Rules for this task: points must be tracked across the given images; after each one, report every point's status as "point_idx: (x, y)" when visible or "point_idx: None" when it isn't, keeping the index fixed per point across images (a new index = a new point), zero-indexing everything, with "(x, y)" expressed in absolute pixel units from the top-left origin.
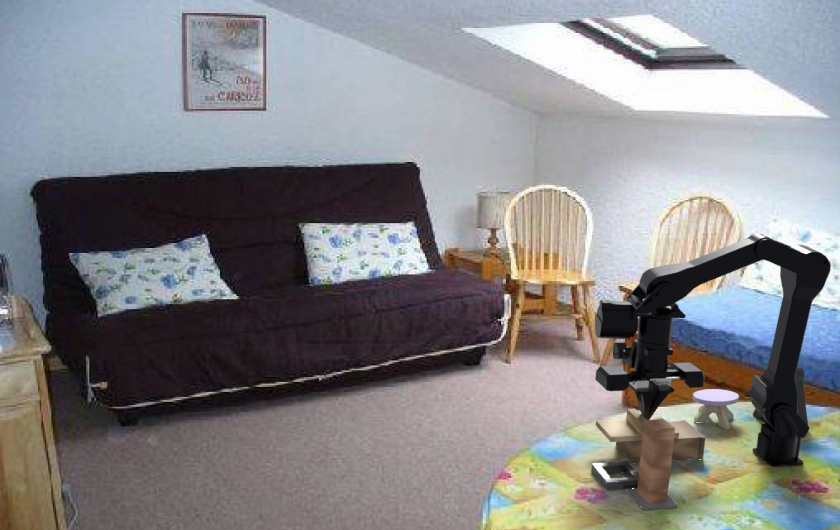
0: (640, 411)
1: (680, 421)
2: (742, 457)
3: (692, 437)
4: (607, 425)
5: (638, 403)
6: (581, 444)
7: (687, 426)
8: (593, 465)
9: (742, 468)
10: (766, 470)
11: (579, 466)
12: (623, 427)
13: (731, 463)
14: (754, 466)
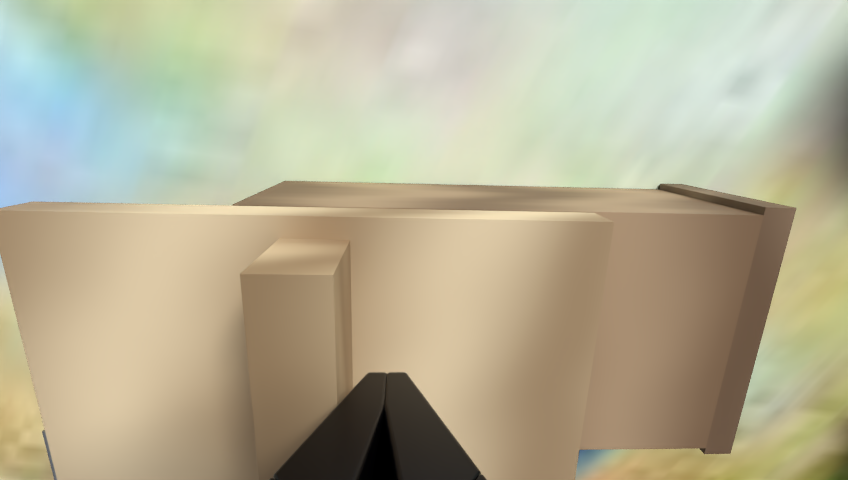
0: (338, 405)
1: (746, 224)
2: (832, 370)
3: (653, 446)
4: (75, 320)
5: (287, 464)
6: (85, 127)
7: (734, 306)
8: (48, 445)
9: (753, 450)
10: (830, 472)
11: (25, 356)
12: (204, 364)
13: (742, 410)
14: (813, 441)
